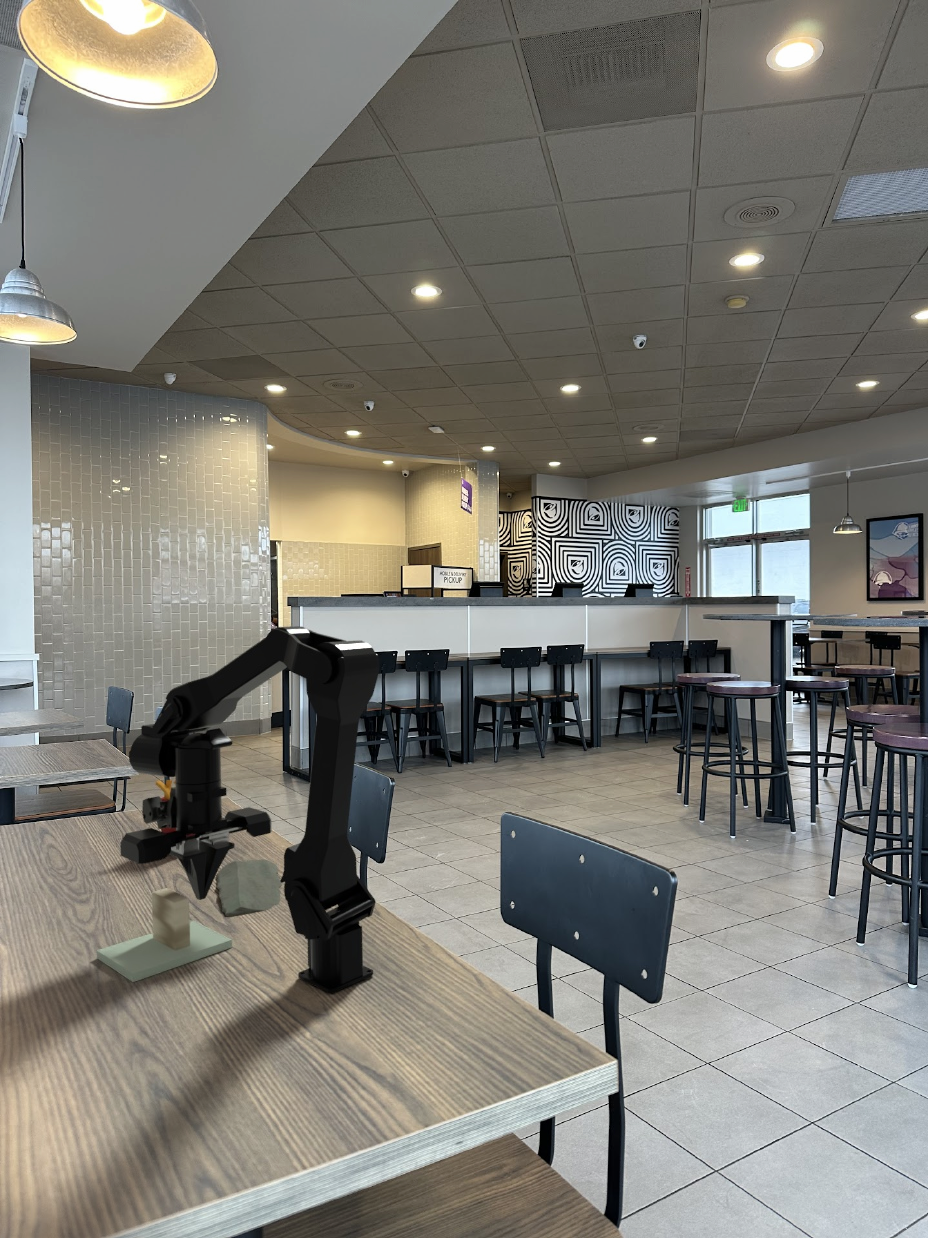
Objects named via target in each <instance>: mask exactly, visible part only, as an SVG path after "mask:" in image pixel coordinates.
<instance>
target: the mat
mask: <svg viewBox="0 0 928 1238" xmlns="http://www.w3.org/2000/svg"><path fill="white" fill-rule="evenodd" d="M231 948H233V939H232V938H229V937H227V936H225V935H224V934H222V933H219V932H218V931H215V930H214V929H212V928H209V927H207V926H205V925H203V924H201V923H200V922H198V921H196V920H190V946H187V947H184V948H181V949H178V950H173V949H172V948H170V947H168V946H166V945H165V944H163V943H161V942H159V941H157V940H156V939H154V938H153V932H152V933H148V934H145V935H142V936H139V937H135V938H133V939H128V940H125V941H123V942H120V943H116V944H112V945H110V946H106V947H105V948H104V947H103V948H101V949H97V950H96V958H97V960H99V961H100V962H101V963H103V964H105V965H106V966H107V967H110V968H111V969H112V970H114V971H115V972H117V973H119V974H120V975H122V976H123V977H125V979H127V980H129V981H130V982H132V983H135V982H137V981H141V980H143V979H147V978H149V977H152V976H155V975H158V974H160V973H164V972H166V971H170V970H171V969H172V970H173V969H175V968H177V967H180V966H183V965H185V964H186V965H187V964H189V963H192V962H195V961H198V960H201V959H203V958H205V957H208V956H211V955H214V954H217V953H221V952H223V951H226V950H229V949H231Z"/></svg>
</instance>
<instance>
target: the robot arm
mask: <svg viewBox="0 0 928 1238" xmlns="http://www.w3.org/2000/svg"><path fill="white" fill-rule="evenodd" d="M286 668H287V669H288V670H289V671H290V672H291V673H293V674H294V675H297V676H300V677H302V678H304V679H305V685H306V686H305V690H306V695H307V697H308V699H309V702H310V704H311V707H312V709H313V711H314V713H315V719H316V720H315V729H314V730H315V731H314V740H313V749H312V759H311V761H312V762H311V770H310V780H309V781H310V782H309V789H308V791H309V792H308V801H307V810H306V811H307V812H306V820H305V831H304V835H303V837H302V839H301V841H300V842H299V843H296V844H294V845H292V846H291V845H290V846H289V847H287V848H285V849H284V850H285V851H284V854H283V873H282V876H281V878H280V882H281V884H282V883H284V885H283V893H284V894H283V895H284V898H285V901H286V902H287V905H288V908H289V913H290V916H291V919H292V924H293V927H294V930H295V932H296V934H298V935H302V936H303V937H304V939H305V940H307V966H308V968H307V969H303V970H301V971H299V972H298V973H297V974H298V975H297V977H298V978H299V979H300V980H302V981H304V982H306V983H308V984H310V985H312V986H314V987H316V988H318V989H320V990H322V991H324V992H326V993H328V994H334V993H336V992H338V991H341V990H343V989H346V988H347V987H349V986H353V985H354V984H356V983H359V982H361V981H363V980H365V979H369V978H370V977H373V976H374V970H373V969H372V968H369V967H368V966H365V965H364V959H363V958H364V957H363V955H364V953H363V951H364V948H363V946H364V945H363V926H362V925H360V922H361V921H363V920H364V919H367V918H370V917H372V916H373V913H374V909H375V906H376V899H375V898H374V896H373V895H372V894H371V892H370V891H369V889H368V888H367V886H366V885H365V883H364V882H363V881H362V880H361V878H360V877H359V876H358V872H357V871H358V870H357V855H356V852H355V850H354V848H353V846H352V844H351V842H350V840H349V838H348V830H349V829H348V828H349V820H350V809H351V801H352V791H353V790H352V789H353V781H354V771H355V770H354V769H355V761H356V751H357V744H358V743H357V742H358V741H357V740H358V734H359V733H358V731H359V724H360V723H359V722H360V719H361V716H362V714H363V713H364V711H365V709H366V708H367V706H368V704H369V702H370V701H371V699H372V697H373V696H374V692H375V688H376V685H377V682H378V681H377V680H378V676H379V674H380V657H379V654H377V653H376V652H375V650H374V648H373V646H371V645H370V644H369V643H368V642H365V641H363V640H345V639H342V638H338V637H334V636H330V635H328V634H327V635H326V634H323V633H318V632H316V631H314V630H311V629H308V628H306V627H304V626H297V625H296V626H278V627H275V628H273V629H272V630H270V631H269V632H268V633H267V634H266V636H265V637H264V638H262V639H260V641H258V642H257V643H256V644H254V645H252V646H251V647H249V648H248V649H246V650H245V651H243V652H242V653H241V654H240V655H238V656H236V657H235V658H234V659H232V660H231V661H230V662H228V663H226V664H225V665H224V666H223V667H221V668H219V669H218V670H217V671H215V672H213V674H210V675H208V676H206V677H202V678H197V679H194V680H192V681H188V682H186V683H183V684H181V685H178V686H176V687H172V688H171V690H169V691H168V693H167V695H166V696H165V699H166V700H165V702H164V705H163V706H162V708H161V709H160V713H159V714H158V717H156V720H155V722H154V723H150V724H143V725H141V726H140V727H141V728H140V729H141V733H140V735H138V736H137V737H136V738H135V740H134V741H133V742H132V744H131V746H130V750H129V752H128V760H129V761H128V762H129V764H130V766H131V767H132V769H133V770H134V771H135V772H136V773H138V774H143V775H151V776H157V777H158V776H159V777H167V778H174V779H175V780H174V781H175V784H174V785H175V786H174V787H171V791H170V800H168V801H163V802H162V800H161V798H162V797H161V796H152V797H148V798H144V799H143V800H142V810H141V812H142V819H143V822H144V823H145V824H146V825H148V824H152V823H156V824H157V829H155V828H152V827H150V828H146V829H141V830H136V831H135V830H134V831H132V832H131V831H130V832H127V833H125V834H124V836H123V838H122V839H121V841H120V856H121V857H123V858H125V859H127V860H129V861H131V862H133V863H135V864H136V863H137V864H139V865H140V864H141V865H142V864H145V865H146V864H149V863H153V862H158V861H162V860H166V858H168V856H169V855H170V856H173V857H175V858H177V859H178V861H179V863H180V864H181V866H182V867H183V870H184V871H185V874H186V877H187V879H188V882H189V883H190V886H191V888H192V891H193V894H194V896H195V898H196V900H199V901H202V900H205V899H206V898H207V896H208V894H209V891H210V889H211V887H212V885H213V882H214V881H215V879H216V875H217V873H218V872H219V868H220V867H221V865H222V863H223V862H224V860H225V858H226V857H227V854H228V852H229V851H230V850H233V849H235V843H234V842H231V841H230V834H233V833H238V832H243V831H245V832H246V833H247V834H248V835H249V836H250V837H252V838H256V837H260V836H265V835H269V834H271V833H272V829H273V828H272V818H271V817H270V815H269V814H268V812H267V811H264V810H260V809H256V808H253V807H249V806H248V807H244V808H239V809H234V810H230V811H227V812H226V814H225V816H224V817H223V812H222V809H223V807H222V803H223V802H222V797H226V796H227V787H225V786H222V763H221V761H222V760H221V759H222V757H221V755H222V753H221V749H222V748H226V747H231V746H232V745H233V740H232V739H231V738H230V737H229V736H228V735H226V734H225V733H224V732H223V730H222V729H221V728H219V727H218V726H219V725H222V724H223V723H224V722H225V721H227V719H228V718H229V717H230V716H231V715H232V714H233V713H234V712H235V711H236V708H237V706H238V703H239V701H240V700H241V699H242V698H244V697H245V696H246V695H248V694H249V693H251V692H252V691H254V690H255V689H257V688H258V687H261V685H262V684H264V683H266V682H267V681H269V680H270V679H272V678H273V677H275V676H276V675H278V674H279V673H281V672H283V671H284V670H285V669H286ZM216 726H217V727H218V728H211V727H216ZM210 728H211V729H210ZM205 731H206V732H205ZM203 732H204V733H203ZM166 827H168V828H176V831H173V832H168V833H163V832H161V829H162V828H166ZM191 834H195V835H192V836H187V835H191ZM186 836H187V837H186ZM335 906H336V907H335ZM331 908H332V909H331ZM330 909H331V910H330ZM327 910H329V911H327Z"/></svg>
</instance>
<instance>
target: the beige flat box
mask: <svg viewBox="0 0 928 1238" xmlns="http://www.w3.org/2000/svg"><path fill="white" fill-rule="evenodd" d="M151 906H152V907H151V910H152V913H151V914H152V915H151V916H152V933H153V938H154V939H156V940H157V941H159V942H161V943H163V944H165V945H166V946H168V947H170V948H172V949H173V950H178V949H181V948H184V947H187V946H190V921H191V919H190V915H191V914H190V898H189V897H187V896H184V895H183V894H180V893H179V892H177V891H173V890H172V889H170V888H167V887H166V888H161V889H158V890H154V891H152V892H151Z"/></svg>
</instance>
